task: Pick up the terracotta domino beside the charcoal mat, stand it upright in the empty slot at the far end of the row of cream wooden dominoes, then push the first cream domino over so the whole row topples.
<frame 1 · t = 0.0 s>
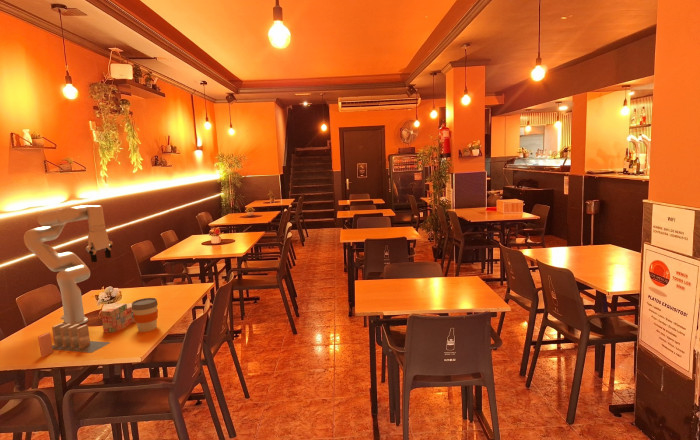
hand: (101, 259, 249), 37 cm above the table, tool pointing down, fingers open, 9 cm apart
cream domino 1: (60, 344, 229), resting on slate mat
slate mat: (78, 346, 226), on the table
cream domino 3: (76, 345, 226), resting on slate mat
stack of blocks: (122, 326, 252), on the table
terracotta domino: (47, 355, 217), on the table
cream domino 4: (84, 346, 225), resting on slate mat
reusable coffee cup: (147, 329, 245), on the table
cream domino 2: (68, 344, 227), resting on slate mat
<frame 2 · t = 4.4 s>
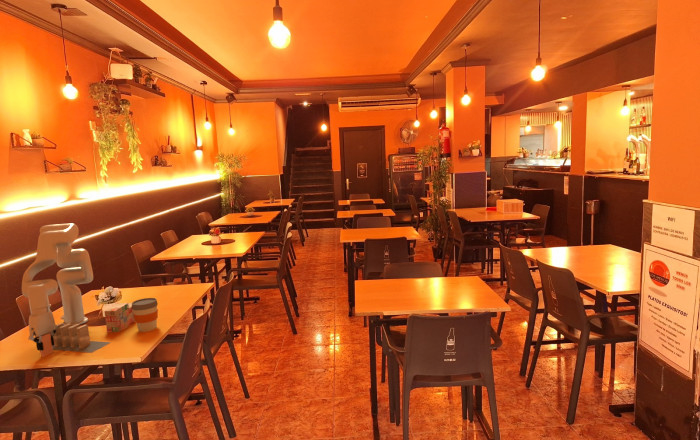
hand: (46, 347, 217), 4 cm above the table, tool pointing down, fingers closed on terracotta domino, 4 cm apart
terracotta domino: (47, 355, 217), on the table, touching gripper
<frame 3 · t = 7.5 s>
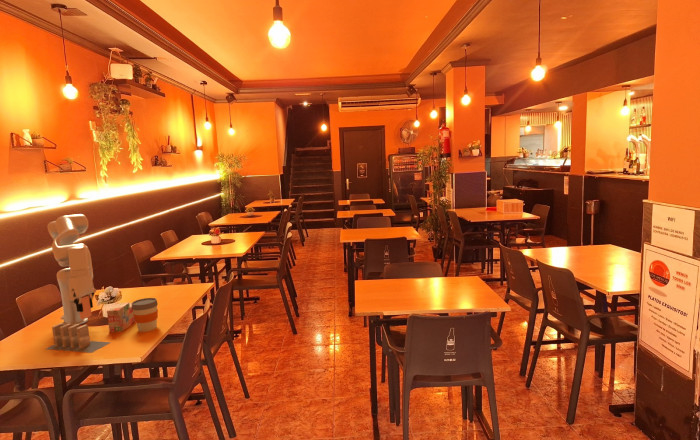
hand: (85, 309, 220), 20 cm above the table, tool pointing down, fingers closed on terracotta domino, 4 cm apart
terracotta domino: (86, 317, 221), point 16 cm above the table, touching gripper
when the fingers open (5 cm above the table, at t = 10.8 s): terracotta domino stays where it is, resting on slate mat.
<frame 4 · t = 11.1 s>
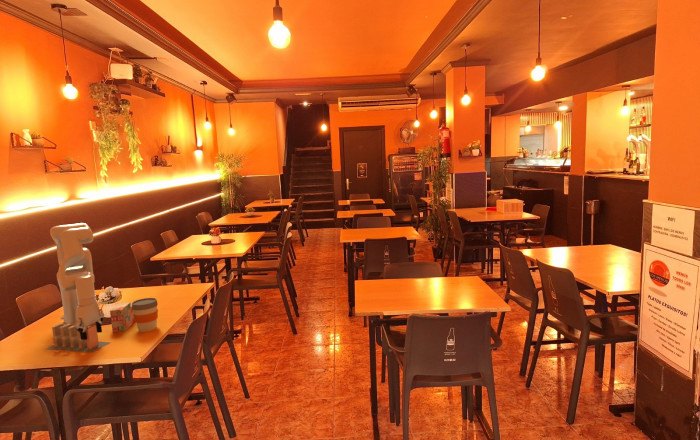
hand: (91, 335, 223), 6 cm above the table, tool pointing down, fingers open, 8 cm apart
terracotta domino: (93, 346, 223), resting on slate mat
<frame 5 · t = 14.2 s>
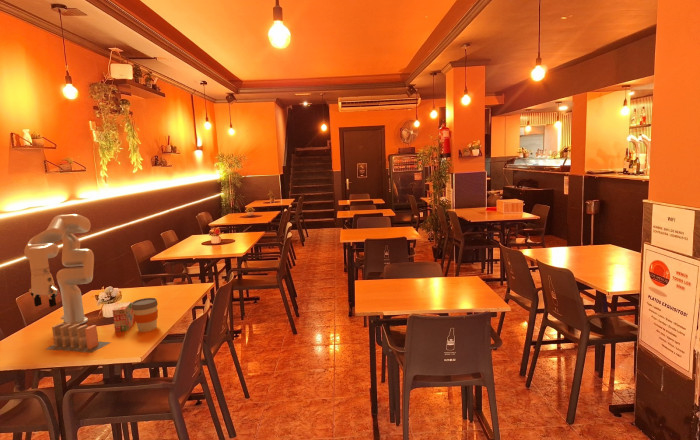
hand: (45, 305, 228), 20 cm above the table, tool pointing down, fingers open, 8 cm apart
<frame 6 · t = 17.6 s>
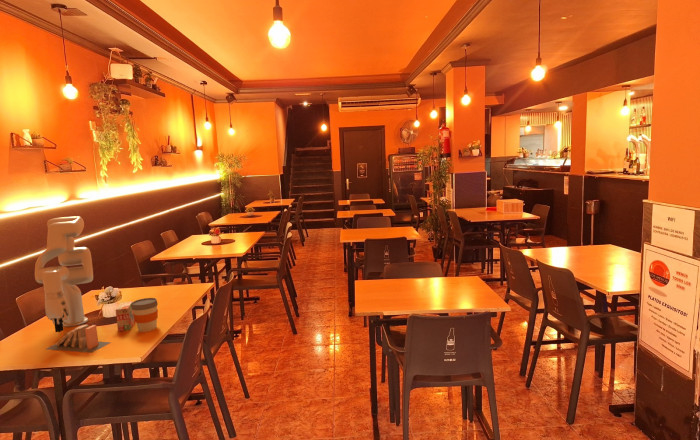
hand: (59, 331, 228), 7 cm above the table, tool pointing down, fingers closed
cream domino 1: (61, 343, 229), point 1 cm above the table, tilted 52°, touching slate mat
cream domino 3: (76, 345, 226), point 1 cm above the table, tilted 22°, touching slate mat
cream domino 2: (68, 344, 227), point 1 cm above the table, tilted 39°, touching slate mat
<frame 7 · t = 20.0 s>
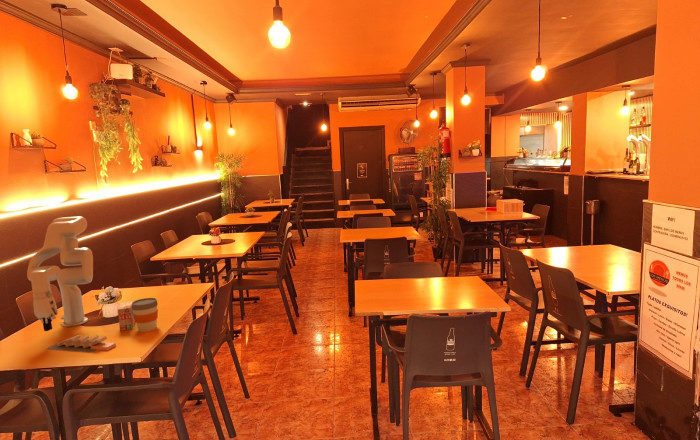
hand: (48, 330, 230), 7 cm above the table, tool pointing down, fingers closed
cream domino 1: (61, 343, 228), point 1 cm above the table, tilted 71°, touching cream domino 2, slate mat
cream domino 3: (79, 344, 226), point 1 cm above the table, tilted 70°, touching cream domino 2, cream domino 4, slate mat
terracotta domino: (94, 345, 223), point 1 cm above the table, tilted 90°, touching cream domino 4, slate mat
cream domino 4: (87, 344, 224), point 1 cm above the table, tilted 70°, touching cream domino 3, terracotta domino
cream domino 2: (70, 343, 227), point 1 cm above the table, tilted 72°, touching cream domino 1, cream domino 3, slate mat
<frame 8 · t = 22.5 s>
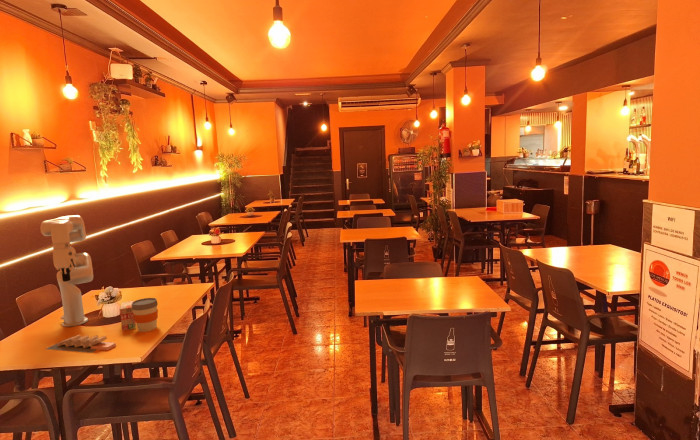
hand: (66, 280, 239), 29 cm above the table, tool pointing down, fingers closed
at the end: terracotta domino tilted 90°; terracotta domino inside the target area (1.9 cm from its centre), point 1.2 cm above the table; cream domino 4 tilted 70° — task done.
